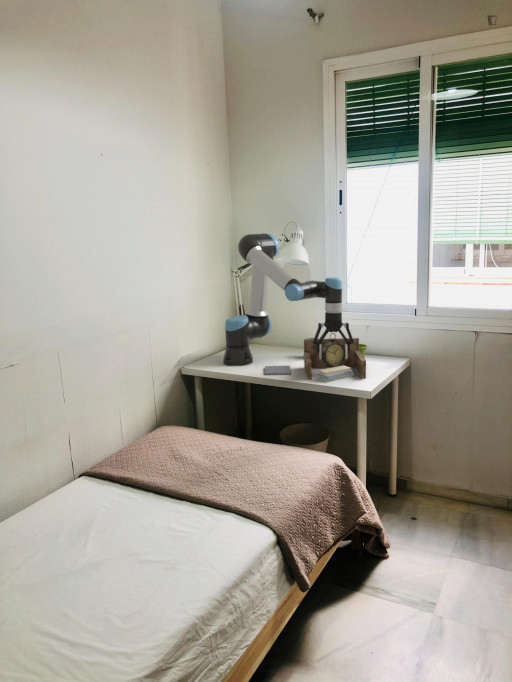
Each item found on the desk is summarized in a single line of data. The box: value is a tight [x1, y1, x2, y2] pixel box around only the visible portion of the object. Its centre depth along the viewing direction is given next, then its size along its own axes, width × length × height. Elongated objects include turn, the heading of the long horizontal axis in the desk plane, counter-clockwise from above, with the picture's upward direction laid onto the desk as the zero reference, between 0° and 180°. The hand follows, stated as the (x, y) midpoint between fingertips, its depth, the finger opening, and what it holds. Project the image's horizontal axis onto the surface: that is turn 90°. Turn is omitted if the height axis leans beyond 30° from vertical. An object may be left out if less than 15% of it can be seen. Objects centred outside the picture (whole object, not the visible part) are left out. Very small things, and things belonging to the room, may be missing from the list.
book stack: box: [316, 366, 354, 383], centre depth 237 cm, size 16×7×4 cm, turn 122°
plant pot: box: [359, 343, 368, 359], centre depth 262 cm, size 9×9×9 cm
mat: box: [264, 365, 292, 376], centre depth 252 cm, size 12×14×1 cm
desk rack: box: [303, 337, 367, 380], centre depth 244 cm, size 26×22×14 cm
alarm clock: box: [321, 332, 345, 369], centre depth 244 cm, size 11×5×16 cm, turn 114°
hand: (333, 358), depth 245 cm, fingers closed on alarm clock, 11 cm apart
